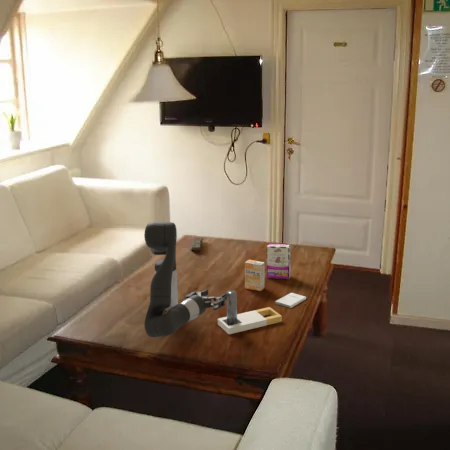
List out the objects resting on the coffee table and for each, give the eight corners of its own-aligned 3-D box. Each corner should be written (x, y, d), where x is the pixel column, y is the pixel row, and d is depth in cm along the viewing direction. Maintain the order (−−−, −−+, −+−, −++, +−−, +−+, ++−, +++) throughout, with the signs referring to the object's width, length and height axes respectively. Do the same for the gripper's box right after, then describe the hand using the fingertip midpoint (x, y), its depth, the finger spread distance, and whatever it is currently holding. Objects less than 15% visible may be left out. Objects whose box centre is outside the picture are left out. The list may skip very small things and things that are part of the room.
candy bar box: (290, 276, 284) (291, 244, 279) (289, 279, 279) (289, 247, 274) (268, 274, 286) (268, 242, 282) (266, 278, 282) (266, 246, 277)
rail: (228, 334, 226) (228, 328, 225) (217, 324, 234) (217, 318, 234) (281, 321, 235) (281, 316, 235) (269, 312, 244) (269, 306, 243)
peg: (229, 330, 229) (229, 295, 225) (225, 326, 233) (224, 291, 228) (238, 328, 231) (238, 293, 226) (234, 324, 234) (233, 289, 230)
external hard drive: (274, 304, 253) (290, 295, 262) (290, 309, 248) (306, 299, 257) (274, 301, 253) (290, 292, 262) (290, 305, 247) (306, 296, 257)
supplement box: (244, 288, 269) (244, 262, 266) (248, 285, 273) (248, 259, 270) (260, 291, 266) (260, 264, 262) (264, 288, 270) (264, 261, 266)
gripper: (206, 303, 201) (232, 288, 213) (174, 294, 208) (201, 281, 221) (206, 323, 203) (232, 307, 215) (175, 314, 210) (201, 299, 223)
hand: (216, 293), depth 218 cm, fingers open, 8 cm apart
